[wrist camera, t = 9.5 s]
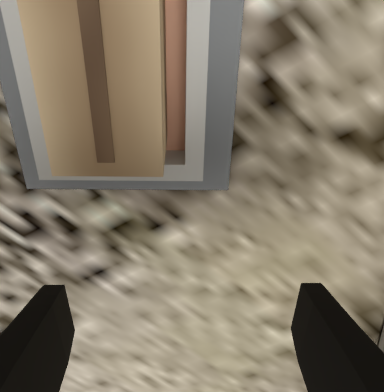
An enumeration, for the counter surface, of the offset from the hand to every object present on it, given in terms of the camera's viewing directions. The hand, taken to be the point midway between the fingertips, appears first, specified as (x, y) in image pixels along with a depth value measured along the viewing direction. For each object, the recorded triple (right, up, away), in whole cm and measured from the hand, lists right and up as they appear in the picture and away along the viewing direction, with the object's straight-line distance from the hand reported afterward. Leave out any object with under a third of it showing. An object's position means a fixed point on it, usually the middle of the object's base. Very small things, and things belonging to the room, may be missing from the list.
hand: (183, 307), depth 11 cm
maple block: (-3, +10, +3) cm, 11 cm away
